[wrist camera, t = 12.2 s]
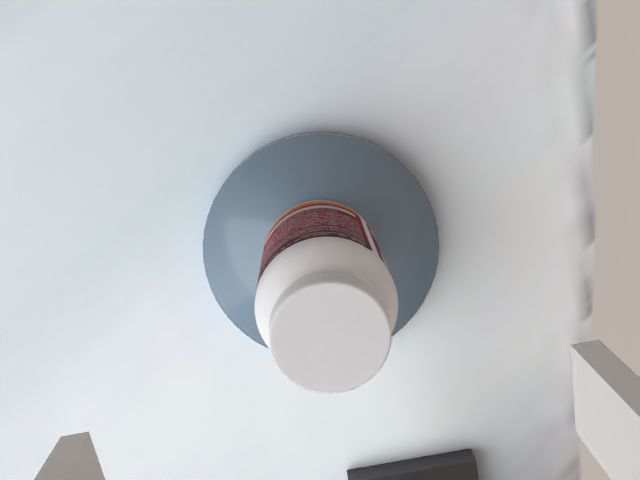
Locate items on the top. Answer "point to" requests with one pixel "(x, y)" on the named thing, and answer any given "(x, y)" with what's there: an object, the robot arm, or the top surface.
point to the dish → (308, 185)
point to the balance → (423, 468)
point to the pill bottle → (325, 298)
